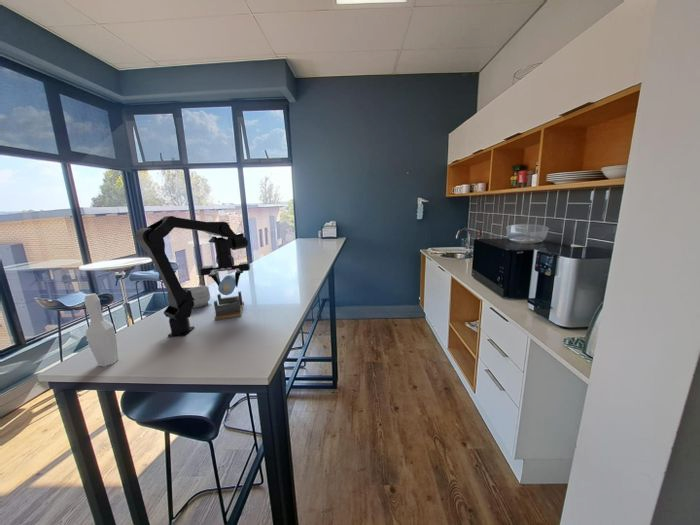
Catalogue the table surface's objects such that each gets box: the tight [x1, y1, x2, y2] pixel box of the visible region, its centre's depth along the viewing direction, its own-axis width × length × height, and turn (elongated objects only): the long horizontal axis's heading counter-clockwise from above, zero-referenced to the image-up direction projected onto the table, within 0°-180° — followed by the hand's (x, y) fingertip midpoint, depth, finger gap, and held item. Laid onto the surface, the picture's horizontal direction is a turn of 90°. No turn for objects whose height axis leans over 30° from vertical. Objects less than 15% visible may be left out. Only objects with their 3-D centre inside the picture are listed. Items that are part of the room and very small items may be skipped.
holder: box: [213, 290, 245, 321], centre depth 119 cm, size 16×10×7 cm, turn 17°
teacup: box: [187, 284, 211, 309], centre depth 130 cm, size 14×11×8 cm
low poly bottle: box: [84, 292, 119, 367], centre depth 82 cm, size 6×6×22 cm
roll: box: [217, 273, 237, 296], centre depth 116 cm, size 12×6×6 cm, turn 15°
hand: (229, 287), depth 117 cm, fingers closed on roll, 6 cm apart
